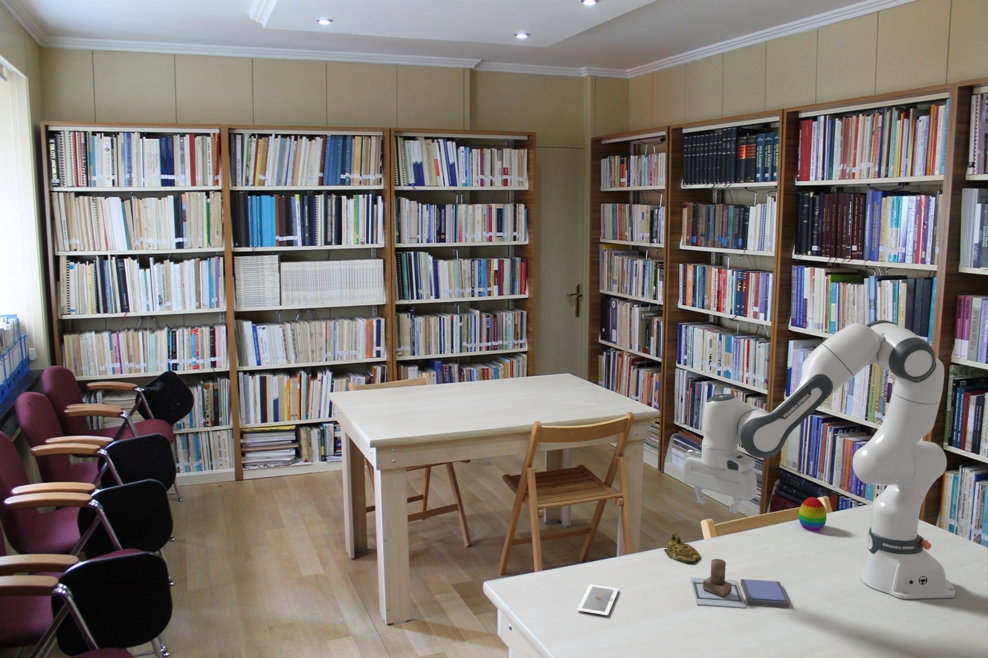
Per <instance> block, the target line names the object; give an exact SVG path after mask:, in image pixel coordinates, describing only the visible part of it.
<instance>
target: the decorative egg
mask: <svg viewBox="0 0 988 658" xmlns="http://www.w3.org/2000/svg"><path fill="white" fill-rule="evenodd" d="M798 520H799V521H798V522H799V524H800V526H801V527H802V528H803V529H805V530H806V531H807V530H808V531H811V532H818V531H821V530H822V529H823V528H824V527H825V525H826V522H827V512H826V508H825V505H824V504H823V502H822V501H821V499H819V498H818V497H814V496H812V497H808V498H806V499H805V500H804V501H803V502H802V503H801V505H800V508H799V511H798Z"/></svg>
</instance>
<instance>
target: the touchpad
mask: <svg viewBox="0 0 988 658" xmlns="http://www.w3.org/2000/svg"><path fill="white" fill-rule="evenodd" d="M619 590H620V588H617V587H612V586H605V585H598V584H592V583H589V584H588V587H587V588H586V591H585V592H584V595H583V596H582V598H581V601H580V603H579V605H578V606H577V609H576V611H580V612H586V613H592V614H599V615H604V616H609V613H610V611H611V609H612V607H613V604H614V602H615V599H616V596H617V595H618V592H619Z"/></svg>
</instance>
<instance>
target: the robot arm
mask: <svg viewBox="0 0 988 658" xmlns="http://www.w3.org/2000/svg"><path fill="white" fill-rule="evenodd" d="M872 364H877V366H879V367H881V368H882V369H885V370H887V371H889V372H891V373H892V374H893V375H895V380H894V384H893V388H892V392H891V397H890V399H889V402H888V403H889V404H888V407H887V411H886V413H885V417H884V418H883V421H882V423H881V424H880V426H879V427H878V429H877V430H876V432H875V433H874V434H873V436H872V437H871V438H870V439H869V441H867V443H865V444H864V445H863V446H861V447H859V448H858V449H857V450H856V451H855V452H854V455H853V456H852V457H853V458H852V469H853V472H854V474H855V476H856V478H858V480H859V481H860V482H862V483H863V484H867V485H871V486H879V487H885V486H886V488H885V489H884V490H883V491H882V492H881V493H879V495H878V496H876V497H875V498H874V500H873V503H872V513H871V524H870V525H871V526H870V527H869V530H868V535H867V549H868V551H867V556H866V560H865V564H864V566H863V570H862V572H861V574H860V581H862V583H864V584H865V585H867V586H869V587H870V588H873V590H874V589H875V590H877V591H879V592H883V593H886V594H888V595H891V596H893V597H896V598H898V599H902V600H907V599H909V600H913V599H915V600H916V599H948V598H955V597H956V590H955V587H954V585H953V584H952V583H951V582H950V581H949V580H948V579H947V578H946V577H947V575H946V572H945V568H944V567H943V566H942V564H941V563H940V562H939V561H938V560H937V559H936V558H935V557H933V555H931V554H930V553H929V552H928V551H927V550H931V549H932V544H931V542H929V541H928V540H927V539H925V538H924V537H923V536H921V535H920V534H918V529H919V522H920V521H919V520H920V512H921V509H922V505H923V502H924V501H925V498H926V495H927V494H928V492H929V491H930V489H931V488H932V485H933V484H934V483H935V482H936V480H937V479H939V478H940V477H941V476H943V474H944V473H945V471H946V469H947V465H948V462H947V456H946V454H945V452H944V450H943V448H942V447H941V446H940V445H939V444H937V443H935V442H932V441H926V440H921V439H922V438H924V437H926V436H927V435H929V434H930V432H931V431H932V430H933V429H934V426H935V422H936V420H937V419H936V418H937V415H938V411H939V407H940V404H941V400H942V395H943V390H944V383H945V365H944V363H943V362H942V361H941V360H940V359H939V358H938V357H936V353H935V351H934V349H933V347H932V346H931V345H930V344H929V343H928V342H927V341H926V340H925V339H923V338H921V337H920V336H919V335H917V334H915V332H913V331H911V330H910V329H907V328H905V327H902V326H900V325H899V324H897V323H896V322H893V321H889V320H885V319H884V320H883V319H879V320H873V321H871V322H870V323H869V322H868V323H867V324H864V323H860V322H855V323H850V324H849V325H847V326H844V327H842V329H840V330H838V331H837V332H835V333H834V334H832V335H831V336H829V337H828V338H827V339H825V340H824V341H823V342H822V343H820V344H819V345H818V346H817V347H816V348H815V349H814V350H812V351H811V352H810V353H809V355H808V356H807V357H806V358H805V359H804V361H803V362H802V365H801V375H800V381H799V384H798V386H797V388H795V390H794V391H793V392H792V393H791V394H790V395H788V397H787V398H786V399H784V401H782V402H781V403H780V404H779V405H778V406H777V407H776V408H775V409H773V411H771V412H769V411H767V410H766V409H763V408H762V407H760V406H759V407H758V406H755V405H752V404H749V403H747V402H745V401H743V400H741V399H740V398H738V397H737V396H736V395H735V394H732V393H731V394H730V393H721V394H715V395H713V396H711V397H710V396H709V398H708V399H707V400H706V402H705V403H704V406H703V413H702V415H703V416H702V431H703V438H702V442H701V451H698V450H697V451H696V450H695V449H694V450H693V449H688V450H687V451H686V452H685V453H684V455H683V461H684V463H683V468H682V473H681V479H682V482H683V484H685V485H689V486H693V491H694V493H695V496H696V497H697V499H696V500H697V501H696V502H697V504H701V505H705V504H706V502H707V500H706V499H707V497H706V496H705V495H704V494H703V491H702V490H703V489H704V490H706V491H710V492H714V493H717V494H721V495H725V496H728V497H732V498H733V501H734V502H733V504H731V505H729V507H728V509H729V510H728V512H729V513H731V514H733V515H734V514H737V513H739V512H738V511H739V506H740V504H741V503H742V502H743V501H751V500H753V499H754V498H755V497H756V496H757V493H758V491H757V490H758V488H757V487H758V486H757V485H758V484H757V483H758V481H757V473H756V472H755V470H754V469H753V468H755V467H756V466H755V465H756V461H755V459H754V458H751V457H750V456H748V455H747V454H749V455H751V456H752V457H755V458H758V459H768V458H771V457H774V456H775V455H777V454H778V453H779V452H780V451H781V450H782V448H783V447H784V445H785V444H786V441H787V440H788V438H789V436H790V435H791V433H792V432H794V430H795V429H796V428H797V427H798V426H799V425H800V424H801V423H803V422H804V421H805V420H806V419H807V418H808V417H809V416H810V415H811V414H812V413H813V412H814V411H816V410H817V409H819V407H820V406H821V405H822V404H823V403H824V402H825V401H826V400H827V399H828V398H829V397H831V395H833V394H834V393H835V392H836V391H838V390H839V389H840V388H841V387H842V386H844V385H845V384H847V383H848V382H849V381H850V380H852V379H853V378H855V376H856V375H857V374H859V373H860V372H861V371H862V370H863V369H864V368H865V367H867V366H869V365H872ZM739 444H741V445H742V448H743V449H744V450H745V452H747V454H745V453H744V452H742V451H740V449H738V445H739Z"/></svg>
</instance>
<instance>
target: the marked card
mask: <svg viewBox="0 0 988 658" xmlns="http://www.w3.org/2000/svg"><path fill="white" fill-rule="evenodd" d="M707 578H708V577H707ZM707 578H704V577H692V576H691V577H690V582H691V586H692V591H693V594H694V598H695V603H696V606H706V607H707V606H708V607H720V608H721V607H722V608H734V609H735V608H737V609H747V606H746V604H745V602H744V601H745V600H744V598H743V596H742V593H741V591H740V588H739V585H738V583H737V580H736V579H725V581H726V582H729V583H732V590H731V592H730V594H728V595H727V596H725V597H724V598H722V597H719V596H717V595H714V594H711V593H709V592H706V591H704V589H703V581H704V580H706V579H707Z"/></svg>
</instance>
